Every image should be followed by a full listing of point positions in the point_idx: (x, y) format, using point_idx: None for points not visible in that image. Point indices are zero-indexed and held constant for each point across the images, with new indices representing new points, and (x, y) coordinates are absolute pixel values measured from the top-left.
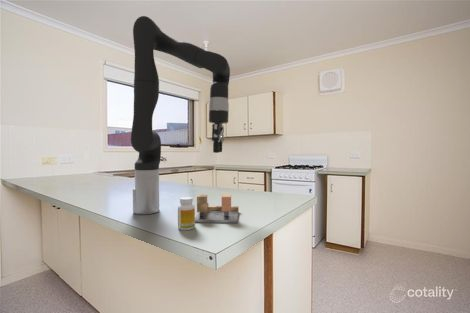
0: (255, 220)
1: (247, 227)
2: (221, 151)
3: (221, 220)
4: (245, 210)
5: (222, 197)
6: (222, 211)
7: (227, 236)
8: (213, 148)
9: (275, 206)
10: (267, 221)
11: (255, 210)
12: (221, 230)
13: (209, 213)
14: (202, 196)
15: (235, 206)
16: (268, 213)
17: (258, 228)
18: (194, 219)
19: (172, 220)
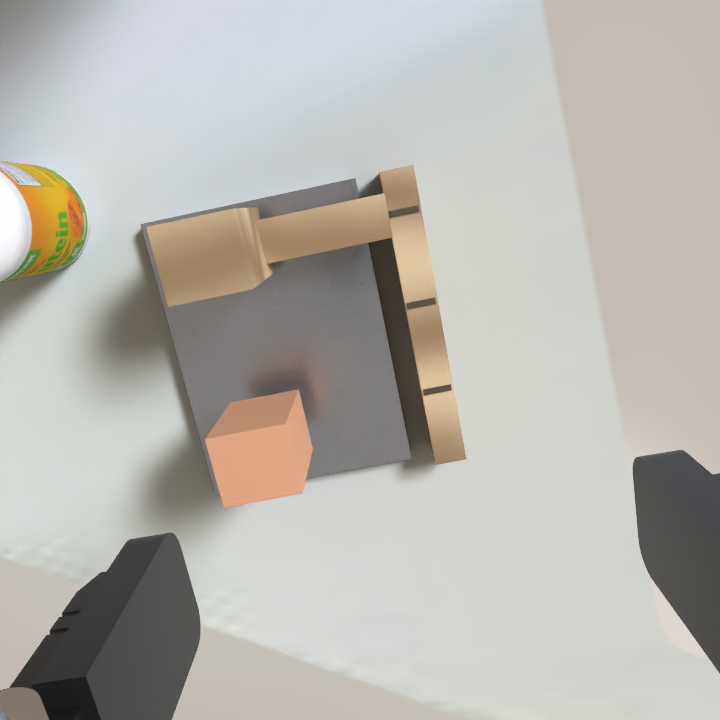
0: (305, 576)
1: None
2: (646, 564)
3: (191, 402)
4: (520, 479)
5: (207, 444)
6: (386, 350)
7: (4, 489)
8: (104, 585)
9: (675, 658)
10: (306, 640)
11: (534, 544)
12: (73, 435)
13: (310, 274)
14: (165, 276)
15: (455, 439)
16: (477, 630)
17: None
18: (29, 276)
19: (136, 46)
